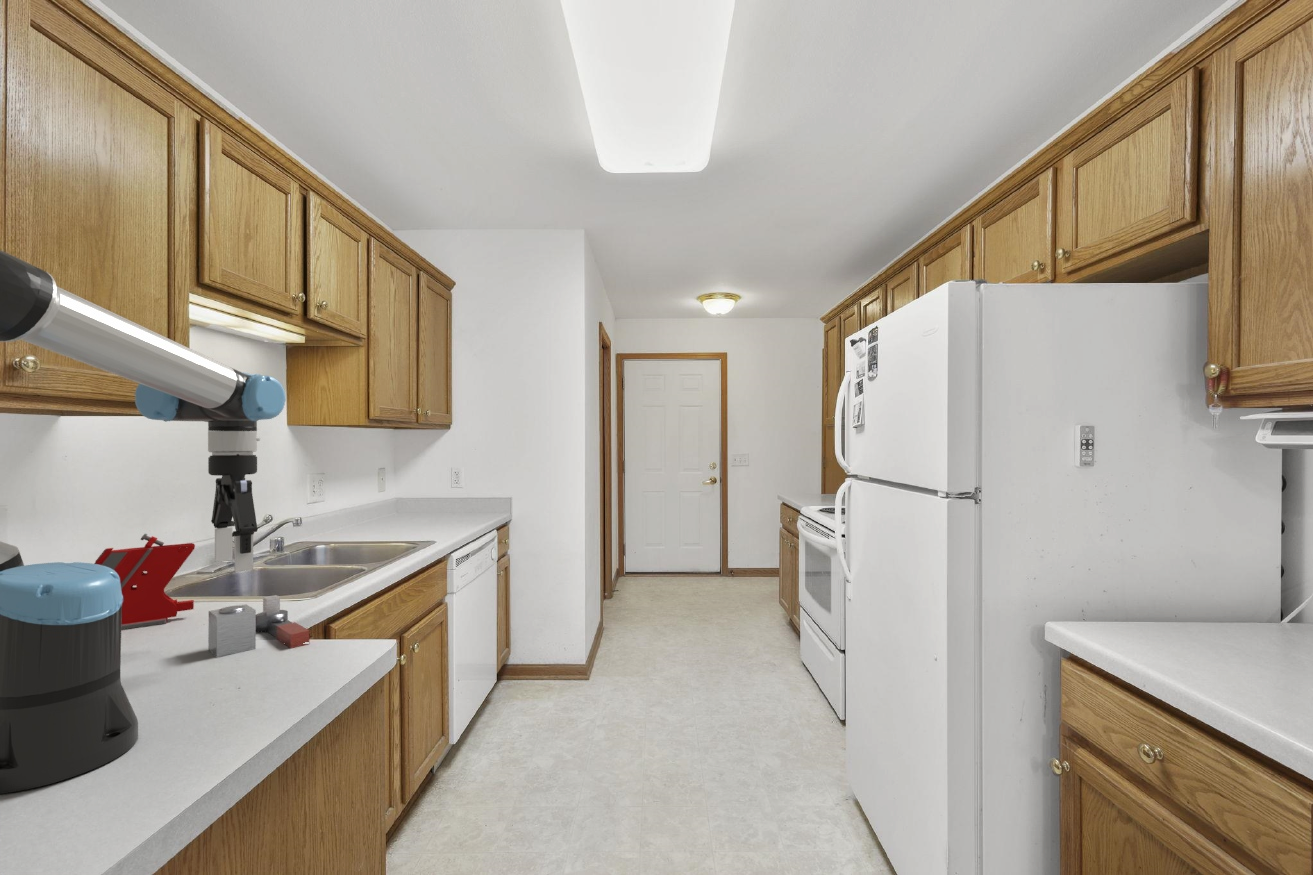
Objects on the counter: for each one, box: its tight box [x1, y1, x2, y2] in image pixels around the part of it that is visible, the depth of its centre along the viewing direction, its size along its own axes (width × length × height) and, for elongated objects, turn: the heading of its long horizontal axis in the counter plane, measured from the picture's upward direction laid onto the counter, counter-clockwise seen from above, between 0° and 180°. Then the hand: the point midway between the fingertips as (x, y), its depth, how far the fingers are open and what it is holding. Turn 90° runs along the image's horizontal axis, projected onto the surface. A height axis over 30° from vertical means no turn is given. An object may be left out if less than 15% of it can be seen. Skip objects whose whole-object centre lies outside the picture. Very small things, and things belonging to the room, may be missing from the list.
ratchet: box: [256, 594, 310, 649], centre depth 118 cm, size 6×20×6 cm, turn 49°
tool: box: [93, 533, 196, 631], centre depth 124 cm, size 24×5×25 cm, turn 131°
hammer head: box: [207, 604, 257, 658], centre depth 110 cm, size 6×6×8 cm
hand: (233, 565), depth 111 cm, fingers open, 13 cm apart
